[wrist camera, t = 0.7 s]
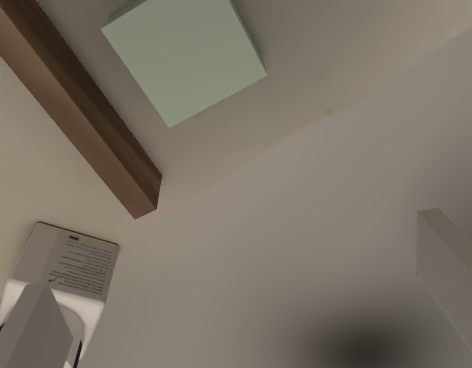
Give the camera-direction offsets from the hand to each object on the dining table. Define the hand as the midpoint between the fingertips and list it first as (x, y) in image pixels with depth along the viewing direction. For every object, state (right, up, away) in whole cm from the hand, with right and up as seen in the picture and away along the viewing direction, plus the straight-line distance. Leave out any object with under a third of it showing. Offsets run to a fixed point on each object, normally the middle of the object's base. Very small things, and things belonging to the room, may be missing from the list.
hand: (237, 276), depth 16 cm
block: (-3, +14, +17) cm, 22 cm away
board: (-11, +10, +19) cm, 24 cm away
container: (-16, -4, +28) cm, 32 cm away
